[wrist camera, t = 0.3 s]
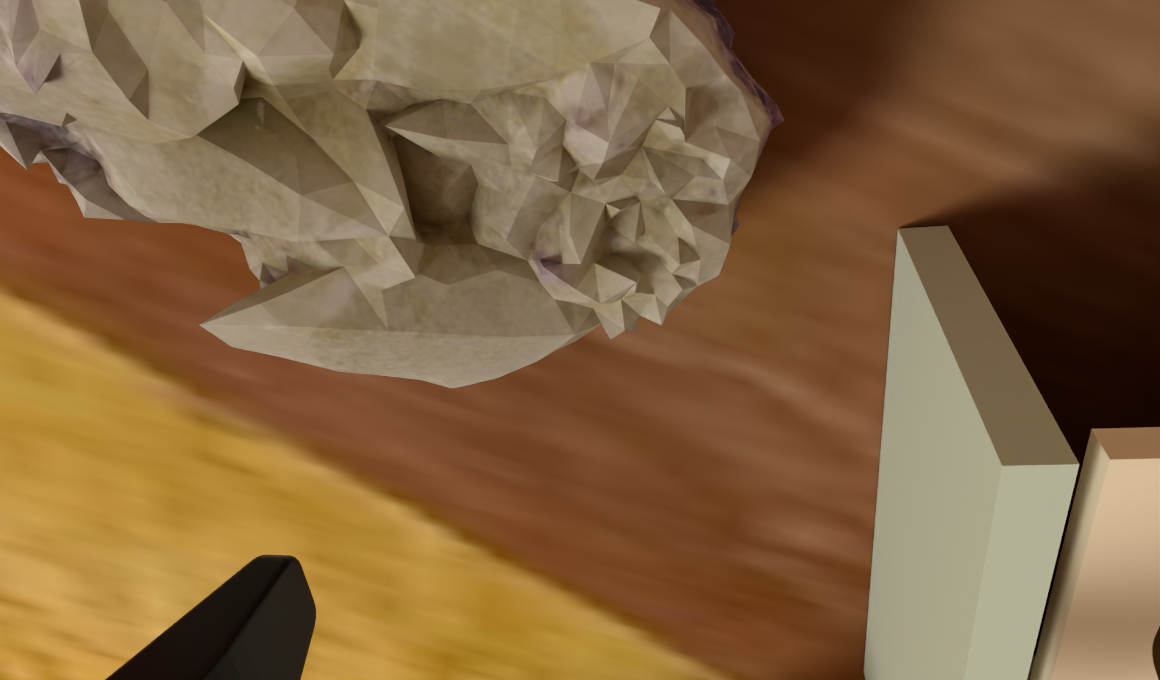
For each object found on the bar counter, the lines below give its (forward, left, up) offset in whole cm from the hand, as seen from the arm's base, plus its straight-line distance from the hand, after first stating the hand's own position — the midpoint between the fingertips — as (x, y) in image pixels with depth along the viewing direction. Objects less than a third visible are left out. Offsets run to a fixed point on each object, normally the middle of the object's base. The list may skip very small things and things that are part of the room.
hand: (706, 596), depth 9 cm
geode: (+3, +7, -15) cm, 17 cm away
